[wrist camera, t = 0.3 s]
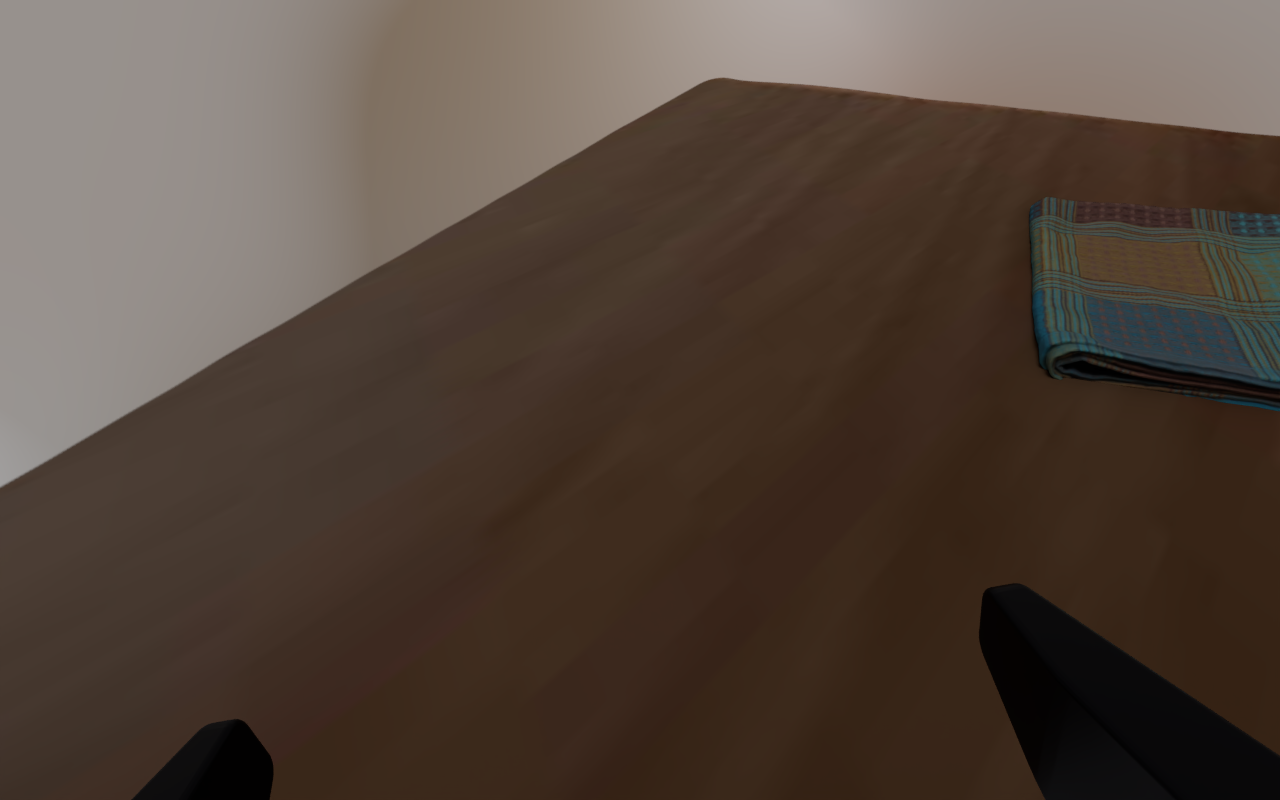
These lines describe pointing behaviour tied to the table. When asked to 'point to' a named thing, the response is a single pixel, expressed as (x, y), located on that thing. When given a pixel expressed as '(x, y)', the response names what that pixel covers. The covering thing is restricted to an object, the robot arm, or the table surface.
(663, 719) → the table surface
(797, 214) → the table surface
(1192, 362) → the dish towel
